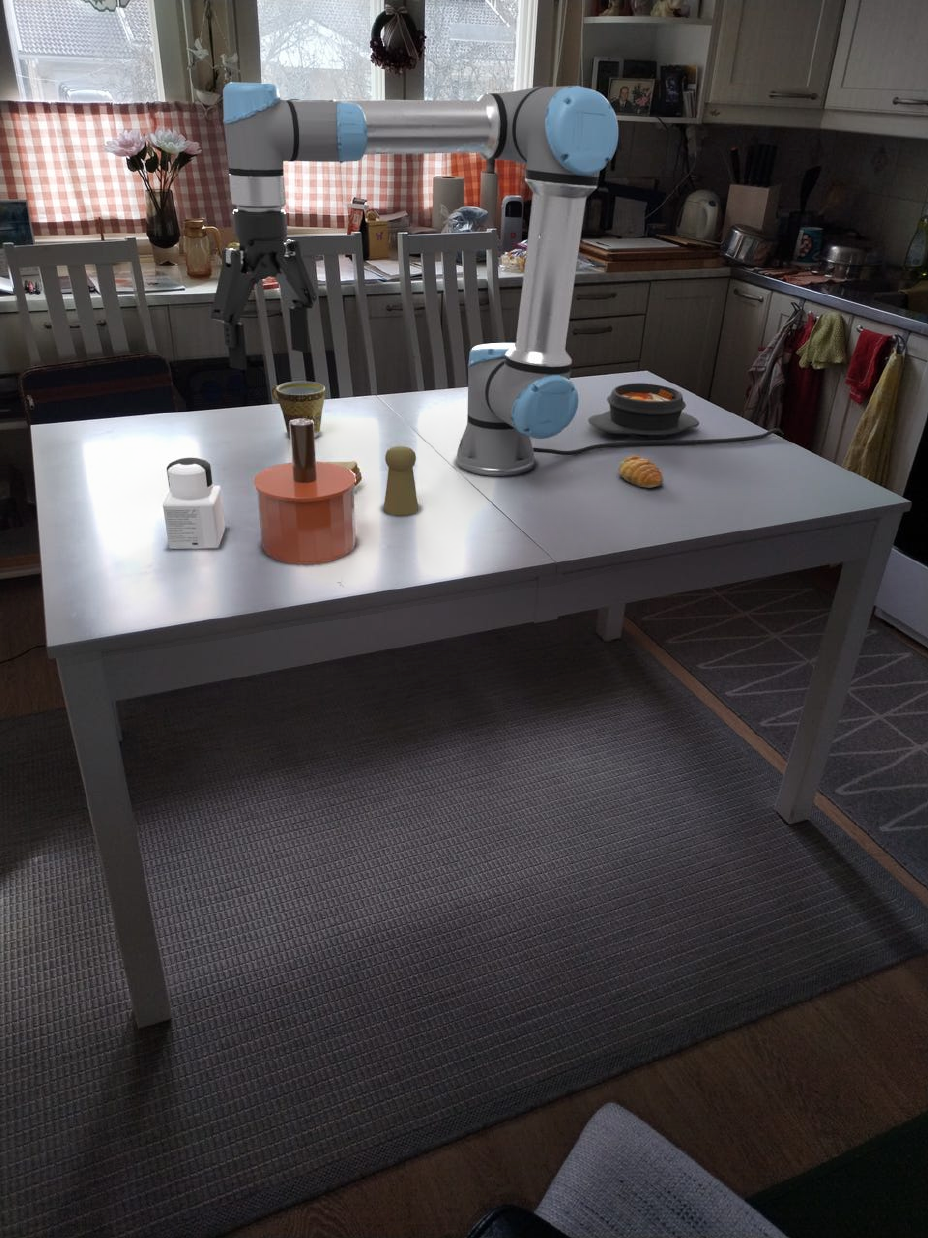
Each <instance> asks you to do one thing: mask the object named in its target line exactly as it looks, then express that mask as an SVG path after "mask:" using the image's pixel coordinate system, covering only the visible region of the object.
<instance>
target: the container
mask: <svg viewBox="0 0 928 1238" xmlns="http://www.w3.org/2000/svg"><path fill="white" fill-rule="evenodd" d="M166 474H167V480H168V489H169V491H168V493H167V496H166V497H165V499H164V500H163V501H164V502H162V503H163V504H162V509H163V515H164V522H165V523H164V524H165V529H166V536H167V542H168V548H169V549H170V550H188V549H189V550H190V549H192V550H193V549H194V550H195V549H196V550H197V549H198V550H199V549H200V550H201V549H219V547H220V545H221V542H222V539H223V536H224V533H225V530H226V523H225V514H224V504H223V496H222V495H223V494H222V488H221V486H220V485H213V484H214V483H213V475H212V467H211V463H209V461H207V460H205V459H203V458H199V457H182V458H178V459H176V460H173V461H171V462H170V463H169V464H168V465H167V466H166Z"/></svg>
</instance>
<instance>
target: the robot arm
mask: <svg viewBox="0 0 928 1238" xmlns="http://www.w3.org/2000/svg"><path fill="white" fill-rule="evenodd" d="M222 104H223V119H222V122H223V125H224V133H225V135H224V136H225V145H226V153H227V154H226V155H227V163H228V164H227V165H228V176H229V187H230V188H229V189H230V200H231V204H232V205H233V207H236V208H235V209H233V211H232V225H233V235H234V236H235V238H236V239H237V240H238V248H237V249H233V248H225V247H224V248H223V249H222V250H221V269H220V273H219V277H218V282H217V286H216V290H215V295H214V298H213V304H212V307H211V312H210V318H211V320H213V321H217V322H219V323H222V325H223V332H224V333H223V334H224V343H225V346H226V347H227V348H228V358H229V367H230V368H232V369H237V370H241V371H246V370H248V362H247V351H246V350H247V349H246V339H245V327H244V326H245V325H244V323H241V322H239V321H240V319H241V317H242V315H243V313H244V310H245V308H246V307H247V304H248V301H249V299H250V297H251V295H252V292H253V290H254V287H255V285H257V284H258V283H259V282H260V280H266V279H268V278H269V277H270V278H274V280H275V281H276V282H277V284H278V285H279V286H280V288H281V289H282V291H283V292H284V294H285V295H286V297H287V299H288V300H289V301H290V302H291V304H292V305H293V306H289V308H288V311H289V312H288V313H289V325H290V327H289V328H290V340H291V341H290V342H291V351H295V352H299V353H308V352H309V346H308V345H309V344H308V328H309V314H308V313H309V312H308V309H313V307H314V303H315V302H316V301H317V299H318V297H317V293H316V290H315V289H314V285H313V283H312V280H311V278H310V275H309V273H308V270H307V268H306V265H305V262H304V260H303V257H302V253H301V244H300V242H299V240H292V239H286V238H287V237H288V220H287V219H288V218H287V212H286V210H285V209H283V207H285V206H286V205H287V200H286V186H285V185H286V184H285V173H284V162H293V163H294V162H312V163H313V162H316V163H319V162H321V163H340V164H343V163H349V162H359V161H360V160H362V159H363V157H364V156H366V155H367V156H368V155H369V156H370V155H424V154H425V155H426V154H427V155H428V154H431V155H432V154H434V155H435V154H478V156H479V157H480V158H482V159H483V160H501V161H506V162H507V161H508V162H513V163H518V164H523V165H526V166H525V167H526V168H525V178H524V181H525V183H526V185H527V186H528V187H529V189H530V190H531V193H532V198H531V205H530V216H529V226H528V233H527V242H526V249H525V250H526V251H525V258H524V259H525V260H524V268H523V276H522V287H521V295H520V303H519V305H520V306H519V312H518V322H517V328H516V329H517V330H516V338H515V342H495V343H493V342H492V343H483V344H478V345H475V346H473V347H472V348H470V351H469V355H468V356H469V357H468V364H467V415H466V416H467V417H466V426H465V429H464V430H463V431H464V432H463V434H462V437H461V439H460V441H459V444H458V448H457V453H456V463H457V465H458V466H459V468H461V469H463V470H465V471H468V472H470V473H474V474H476V475H483V476H489V477H491V476H493V477H495V476H496V477H507V476H508V477H509V476H515V475H519V474H524V473H526V472H529V471H530V470H531V469H533V467H534V465H535V453H542V454H552V455H559V456H573V455H578V454H582V453H585V452H588V451H592V450H598V449H605V448H615V447H627V446H655V445H705V444H709V445H710V444H726V443H739V442H747V441H756V440H761V439H764V438H768V437H769V436H771V435H773V434H776V433H777V434H778V435H779V436H784V435H785V434H784V432H783V431H782V430H781V429H780V428H778V427H777V428H771V429H769V430H768V431H766V432H764V433H761V434H756V435H749V436H739V437H728V438H709V439H657V440H656V439H655V440H653V439H651V440H627V441H613V442H605V443H597V444H590V445H588V446H587V445H586V446H584V447H581V448H576V449H572V450H571V449H570V450H560V449H554V448H542V447H533V443H532V440H531V439H536V440H545V439H549V438H553V437H556V436H557V435H558V434H560V433H562V431H563V430H565V428H568V426H569V425H570V424H571V423H572V421H573V419H574V418H575V416H576V414H577V411H578V407H579V394H578V390H577V388H576V387H575V384H574V382H573V381H572V380H571V379H570V378H571V373H572V365H573V359H572V358H571V356H570V354H569V353H568V352H567V351H566V345H567V337H568V331H569V324H570V317H571V309H572V301H573V295H574V289H575V288H574V287H575V280H576V274H577V268H578V267H577V265H578V259H579V252H580V245H581V237H582V231H583V222H584V215H585V208H586V203H587V198H588V197H589V196H590V195H591V194H592V193H593V192H594V191H596V189H598V185H599V177H600V171H602V170H603V169H604V168H605V167H606V166H607V164H608V162H611V160H612V159H613V157H614V155H615V152H616V151H617V146H618V142H619V123H618V119H617V115H616V112H615V110H614V108H613V107H612V105H611V103H610V102H609V100H608V99H607V98H606V97H605V95H603V94H602V93H601V92H599V91H597V90H594V89H592V88H589V87H583V86H580V85H568V86H535V87H528V88H524V89H519V90H513V91H512V90H511V91H505V92H494V93H493V92H484V93H482V94H481V95H480V96H479V97H478V99H477V100H476V99H458V100H457V99H331V100H328V99H327V100H326V99H298V98H287V99H281V96H280V92H279V88H278V86H277V85H276V84H274V83H264V82H263V83H260V82H239V81H237V82H236V81H235V82H228V83H227V84H226V85H225V86H224V87H223V90H222Z"/></svg>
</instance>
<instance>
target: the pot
mask: <svg viewBox="0 0 928 1238" xmlns="http://www.w3.org/2000/svg"><path fill="white" fill-rule="evenodd" d="M256 493H257V504H258V506H257V507H258V515H259V526H260V536H261V537H260V538H261V545H262V550H263V552H264V553H265V554H266V555H267V556H268V557H270V558H272V559H273V560H276V561H279V562H283V563H287V564H293V565H316V564H317V565H318V564H323V563H329V562H332V561H335V560H338V559H341V558H343V557H345V556H347V555H348V554H349V553H350V552H352V551H353V550H354V548H355V545H356V540H357V539H356V537H357V535H356V511H355V487H353V488H352V489H351V490H350V491H348V492H347V493H345V494H342V495H340V496H337V497H334V498H330V499H325V500H318V501H306V502H295V501H284V500H278V499H273V498H270V497H267V496H264V495H262V494H260V493H259V492H258V491H257V490H256Z"/></svg>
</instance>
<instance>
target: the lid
mask: <svg viewBox="0 0 928 1238" xmlns="http://www.w3.org/2000/svg"><path fill="white" fill-rule="evenodd" d="M289 426H290V437H289V438H290V439H289V440H290V452H291V453H290V454H291V462H285V463H280V464H276V465H273V466H270V467H267V468H265V469H262V470H261V471H260V472H258V473H257V474H256V475H255V476H254V478H253V481H252V483H253V488H254V489H255V491H256V492H257V491H258V492H259V493H260V494H262V495H264V496H267V497H270V498H273V499H278V500H284V501H295V502H306V501H318V500H325V499H330V498H334V497H337V496H340V495H342V494H345V493H347V492H348V491H350V490H351V489H352V488H353V487H354V486H355V484H356V476H355V474H354V473H353V472H352V471H351V470H349V469H348V468H345V467H343V466H340V465H337V464H332V463H326V462H327V461H326V462H325V461H317V457H316V442H315V441H316V439H315V437H314V422H313V420H311V419H306V418H299V419H293V420H291V421H290V422H289ZM355 487H356V486H355ZM355 487H354V488H355Z"/></svg>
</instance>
